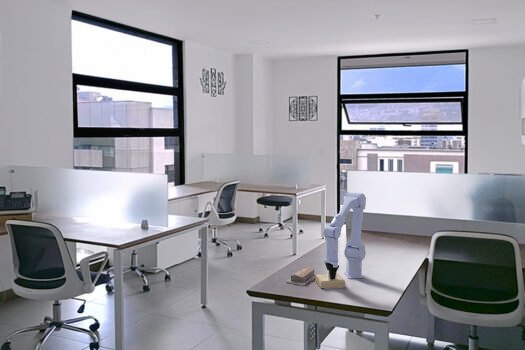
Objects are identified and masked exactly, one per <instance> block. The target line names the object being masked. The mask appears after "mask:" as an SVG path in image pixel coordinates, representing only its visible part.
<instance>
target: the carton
mask: <svg viewBox="0 0 525 350" xmlns="http://www.w3.org/2000/svg"><path fill="white" fill-rule="evenodd" d="M315 275H316V278H315V282H316V284H317V285H318V287H319V289H321V288H329V289H346V281H345V282H326V283H321V282H320V280H319V278H323V277H327V273H325V274H315ZM336 277H342V275H341V274H340V273H336Z"/></svg>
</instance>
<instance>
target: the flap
mask: <svg viewBox="0 0 525 350" xmlns="http://www.w3.org/2000/svg"><path fill="white" fill-rule="evenodd" d="M337 272H338V271H337ZM337 272H336V274H338V273H337ZM326 274H327V277H323V278H319V280H320V282H321V283H326V282H345V283H346V279H344V277H342V276H341V277H336V276H335V279H330V274H329V270H327V269H326Z"/></svg>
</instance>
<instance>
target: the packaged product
mask: <svg viewBox="0 0 525 350" xmlns="http://www.w3.org/2000/svg"><path fill="white" fill-rule="evenodd" d="M316 275H317V274H315V269H314V268H312V267H310V268H309V267H303V268H301V269H299V270H298V271H295V272H294V273H293V274H291V275H290V278H288V279H287V280H285V283H286V284H289V285H296V286H302V287H304V286H306V285H307V284H309V283H311V282H313V280H314V279H315V280H316Z"/></svg>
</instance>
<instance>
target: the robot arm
mask: <svg viewBox="0 0 525 350" xmlns="http://www.w3.org/2000/svg"><path fill="white" fill-rule="evenodd" d="M342 198H343V200H342V201H343V204H342V206H341V208H340V210H339V212H338V213H337V214H335V215H334V217H333V218H332V220H331V222H330V223H329V224H328V225H327V226H326V227H324V232H323V235H324V241H325V243H326V244H325V259H323V263H324V265H325V267H326V271H327V270H329V274H330V279H335V276H336V274H337V273H336V272H338V270H339V268H340V265H339V238H340V237H341V232H342V228H343V226H344V224H345V223H346V221H347V220H346V217H347V215H348V214H349V213H350V211H351V209H352V219H351V220H352V221H351V231H350V240H349V241H348V242H347V243H345V248H344V251H343V254H344V257H345V259H346V262H345V263H346V265H345V272H344V275H345V276H346V277H347V278H349V279H350V280H351V279H365V276H364V275H363V274H362V271H363V270H362V269H363V268H362V266H363V263H362V262H363V261H364V259H365V258H366V256H367V255H366V254H367V253H366V245H365V244H364V243H363V242H362V228H363V218H364V210H365V209H366V204H367V197H366V196H365V193H362V192H361V193H360V192H357V193H356V192H349V191H346V193H345V194H344V196H343V197H342Z"/></svg>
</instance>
